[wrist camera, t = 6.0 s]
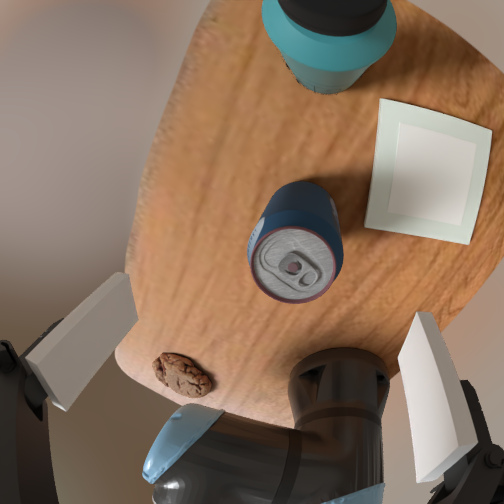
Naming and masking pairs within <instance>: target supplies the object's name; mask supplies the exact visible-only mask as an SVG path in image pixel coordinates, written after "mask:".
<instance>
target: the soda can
mask: <svg viewBox="0 0 504 504" xmlns="http://www.w3.org/2000/svg"><path fill="white" fill-rule="evenodd" d="M247 256H248V262H249V265H250V268H251V273H252V276H253V279H254V281H255V283H256V284H257V286H258V287H259V288H260V289H261V290H262V291H263V292H264V293H265V294H267V295H268V296H270V297H271V298H273V299H275V300H278V301H280V302H284V303H290V304H301V303H306V302H310V301H312V300H315V299H317V298H318V297H320V296H321V295H323V294H324V293H325V292H326V291H327V290H328V289H329V287H330V286H331V284H332V283H333V281H334V280H335V279H336V278H337V276H338V274H339V272H340V270H341V267H342V264H343V257H344V253H343V245H342V238H341V232H340V226H339V220H338V214H337V209H336V205H335V203H334V201H333V199H332V197H331V196H330V195H329V194H328V192H327V191H325V190H324V189H323V188H322V187H320V186H318V185H316V184H313V183H310V182H304V181H299V182H292V183H289V184H287V185H285V186H283V187H281V188H280V189H279V190H277V191H276V192H275V194H274V195H273V196H272V198H271V200H270V201H269V203H268V205H267V207H266V209H265V210H264V212H263V214H262V216H261V218H260V219H259V221H258V223H257V225H256V227H255V228H254V230H253V232H252V234H251V236H250V239H249V242H248V247H247Z"/></svg>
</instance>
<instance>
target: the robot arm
mask: <svg viewBox="0 0 504 504" xmlns="http://www.w3.org/2000/svg"><path fill="white" fill-rule="evenodd" d="M137 321H138V316H137V311H136V307H135V302H134V298H133V293H132V288H131V283H130V278H129V274H125V273H120V272H116V273H115V274H113V275H112V276H111V277H110V278H109V279H108V280H107V281H105V282H104V283H103V284H102V285H101V286H100V287H99V288H98V289H96V290H95V291H94V292H93V293H92V294H91V295H90V296H88V298H86V299H85V300H84V301H83V302H82V303H81V304H80V305H79V306H77V308H75V309H74V310H73V311H72V312H71V313H70V314H69V315H68V316H67V317H66V318H65V319H64V318H62V319H61V320H59V321H57V322H55V323H53V324H52V325H51V326H50V327H49V328H48V329H47V330H46V332H44V333H43V334H42V335H41V337H39V338H38V339H37V340H36V341H35V342H34V343H33V344H32V345H31V346H30V347H29V348H28V349H27V350H26V351H25V352H24V353H23V354H22V355H21V356H20V357H18V355H17V354H16V352H15V350H14V348H13V346H12V344H11V343H10V342H9V341H7V340H0V504H59V502H58V497H57V493H56V486H55V481H54V476H53V468H52V462H51V461H52V460H51V452H50V442H49V429H48V407H47V403H46V400H45V399H46V398H47V396H49V398H50V399H51V401H52V402H53V404H54V405H56V406H57V407H59V408H61V409H63V410H64V411H67V410H68V409H69V408H70V406H71V405H72V404H73V402H74V401H75V399H76V398H77V397H78V395H79V394H80V393H81V392H82V390H83V389H84V388H85V386H86V385H87V384H88V382H89V381H90V380H91V379H92V377H93V376H94V374H95V373H96V372H97V371H98V370H99V368H100V367H101V366H102V364H103V363H104V362H105V361H106V359H107V358H108V357H109V356H110V354H111V353H112V352H113V351H114V349H115V348H116V347H117V346H118V344H119V343H120V342H121V341H122V339H123V338H124V337H125V336H126V334H127V333H128V332H129V331H130V330H131V328H132V327H133V326H134V325H135V323H136V322H137ZM398 362H399V366H400V371H401V375H402V380H403V385H404V390H405V396H406V401H407V407H408V413H409V419H410V426H411V432H412V441H413V449H414V458H415V468H416V480H417V483H421V482H428V481H434V480H436V479H437V478H438V477H440V476H441V475H442V474H444V481H443V482H442V483H440V484H439V485H437V486H436V487H435V488H433V489H432V490H431V492H430V493H433V492H434V491H436V492H435V493H434V495H433V496H432V498H431V499H430V500H429V502H428V503H427V504H504V450H503V449H502V448H501V447H500V446H499V445H495V444H492V441H491V438H490V434H489V431H488V427H487V424H486V421H485V418H484V414H483V411H481V409H482V408H481V405H480V403H479V402H478V401H479V399H478V397H477V394H476V391H475V389H474V388H473V386H472V385H471V384H470V382H469V381H468V380H459V378H458V375H457V373H456V370H455V367H454V365H453V362H452V359H451V357H450V354H449V352H448V349H447V347H446V344H445V342H444V340H443V337H442V335H441V333H440V330H439V328H438V326H437V324H436V321H435V319H434V317H433V315H432V313H431V312H416V315H415V317H414V320H413V322H412V325H411V327H410V330H409V332H408V335H407V337H406V340H405V342H404V344H403V347H402V349H401V351H400V353H399V356H398ZM389 388H390V381H389V374H388V369H387V367H386V365H385V363H384V362H383V361H382V360H381V359H380V358H379V357H377V356H376V355H374V354H372V353H370V352H367V351H364V350H360V349H354V348H335V349H328V350H324V351H320V352H317V353H315V354H312V355H310V356H308V357H306V358H305V359H303V360H302V361H300V362H299V363H298V364H297V365H296V366H295V367H294V369H293V370H292V372H291V374H290V378H289V384H288V397H289V401H290V405H291V409H292V413H293V417H294V422H295V426H294V429H292V428H287V427H283V426H278V425H274V424H269V423H265V422H261V421H257V420H253V419H249V418H246V417H242V416H238V415H235V414H231V413H228V412H225V410H223V409H221V410H217V409H214V408H210V407H206V406H203V405H199V404H194V403H190V404H186V405H184V406H182V407H180V408H179V409H178V410H177V411H176V412H175V413H174V414H173V415H172V416H171V417H170V419H169V420H168V421H167V423H166V424H165V425H164V427H163V428H162V430H161V432H160V433H159V435H158V437H157V438H156V440H155V442H154V443H153V445H152V447H151V449H150V452H149V454H148V456H147V458H146V461H145V463H144V467H143V470H144V471H143V477H144V479H146V480H147V481H148V482H149V483H151V484H155V488H154V492H153V495H152V500H153V502H154V504H382V500H383V492H384V487H385V483H384V469H383V468H384V467H383V443H382V427H381V418H382V414H383V411H384V408H385V404H386V400H387V397H388V393H389Z"/></svg>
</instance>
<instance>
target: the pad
mask: <svg viewBox="0 0 504 504" xmlns="http://www.w3.org/2000/svg"><path fill="white" fill-rule="evenodd" d="M491 137H492V131H491V130H489V129H486V128H484V127H481V126H478V125H476V124H473V123H470V122H467V121H464V120H461V119H458V118H455V117H452V116H449V115H446V114H443V113H439V112H436V111H432V110H429V109H425V108H421V107H417V106H413V105H409V104H405V103H401V102H396V101H392V100H387V99H382V98H381V99H380V101H379V115H378V126H377V137H376V146H375V155H374V163H373V170H372V177H371V184H370V191H369V197H368V203H367V209H366V215H365V220H364V227H365V228H372V229H378V230H385V231H391V232H398V233H404V234H410V235H416V236H422V237H428V238H434V239H439V240H445V241H451V242H456V243H461V244H467V245H469V243H470V239H471V236H472V233H473V229H474V225H475V222H476V218H477V214H478V210H479V206H480V202H481V197H482V193H483V188H484V183H485V178H486V172H487V166H488V160H489V153H490V146H491Z"/></svg>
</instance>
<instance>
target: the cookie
mask: <svg viewBox="0 0 504 504" xmlns="http://www.w3.org/2000/svg"><path fill="white" fill-rule="evenodd" d="M152 367H153V370H154V372H155V374H156V377H157V379H158V380H159V381H161V382H162V383H163V384H164V385H165V386H167V387H170V388H171V389H172V390H173V391H175V392H176V393H178V394H181V395H183V396H188V397H189V398H199V397H203V396H205V395H207V394H208V393H209V391H210V389H211V385H212V384H211V382H210V380H209V379H208V378H207V376H206V375H204V374H202V373H203V372H202V371H199V370H198V369H196V368H195V367H194V366H193V363H192V362H191V361H190V360H189V359H187V358H184V357H181V356H177V355H174V354H169V353H168V354H167V353H165V354H164V353H162V354H161V355H160V357H159V358H157V359H156V360H155V361H154V362H153V363H152Z"/></svg>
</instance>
